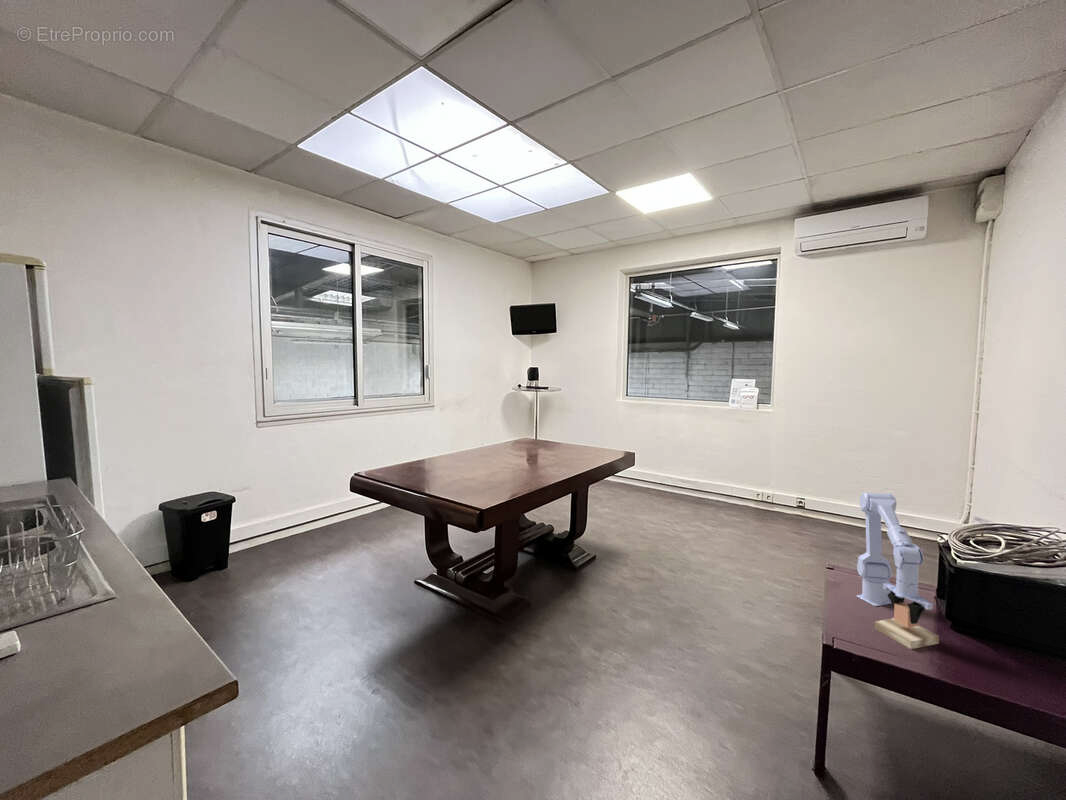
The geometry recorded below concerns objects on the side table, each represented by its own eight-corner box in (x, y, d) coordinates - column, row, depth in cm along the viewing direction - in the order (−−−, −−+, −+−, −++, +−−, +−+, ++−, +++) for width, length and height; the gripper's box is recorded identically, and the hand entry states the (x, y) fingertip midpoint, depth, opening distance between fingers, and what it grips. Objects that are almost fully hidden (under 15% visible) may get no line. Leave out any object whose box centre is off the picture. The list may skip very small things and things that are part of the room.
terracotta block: (904, 618, 152) (904, 602, 151) (918, 625, 147) (918, 608, 147) (894, 620, 151) (894, 603, 150) (907, 627, 146) (908, 610, 146)
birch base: (901, 624, 156) (901, 616, 156) (938, 644, 145) (939, 635, 145) (874, 629, 154) (874, 621, 154) (910, 650, 142) (910, 641, 142)
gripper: (876, 572, 154) (876, 609, 155) (921, 592, 140) (920, 632, 141) (892, 570, 156) (891, 606, 157) (938, 589, 142) (936, 629, 143)
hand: (906, 618), depth 149 cm, fingers closed on terracotta block, 4 cm apart
